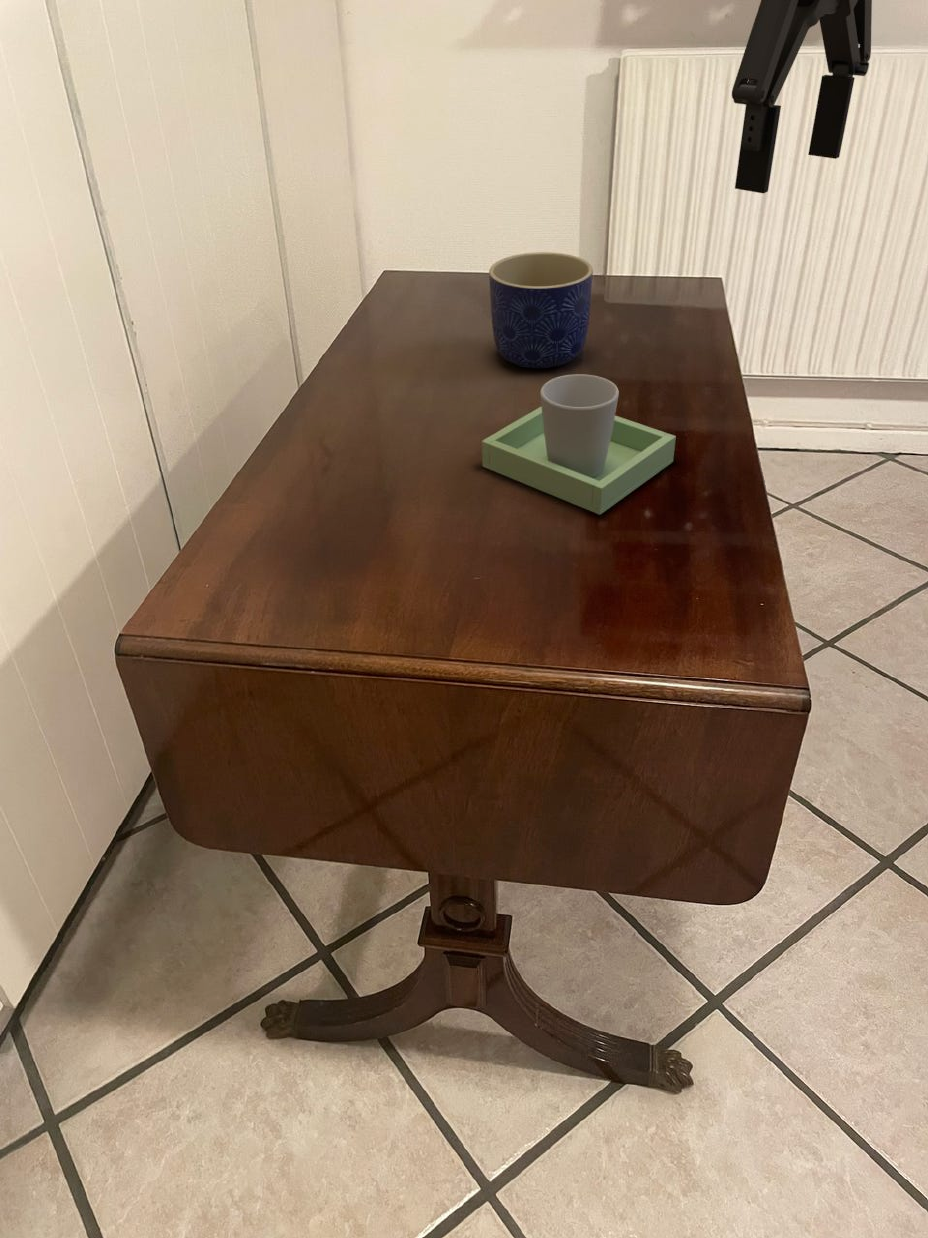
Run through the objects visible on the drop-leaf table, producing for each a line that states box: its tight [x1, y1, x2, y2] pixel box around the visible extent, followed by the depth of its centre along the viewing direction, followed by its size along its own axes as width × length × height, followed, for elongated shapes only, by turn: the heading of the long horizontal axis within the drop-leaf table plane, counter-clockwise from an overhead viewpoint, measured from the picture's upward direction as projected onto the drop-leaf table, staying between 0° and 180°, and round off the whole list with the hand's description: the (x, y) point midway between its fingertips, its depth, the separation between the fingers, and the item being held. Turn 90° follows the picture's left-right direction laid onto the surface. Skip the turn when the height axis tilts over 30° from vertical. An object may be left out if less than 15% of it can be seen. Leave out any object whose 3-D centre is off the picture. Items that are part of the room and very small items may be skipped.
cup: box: [539, 373, 620, 478], centre depth 96 cm, size 8×10×8 cm
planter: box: [488, 251, 594, 369], centre depth 117 cm, size 12×12×11 cm
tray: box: [481, 405, 677, 515], centre depth 98 cm, size 15×13×3 cm
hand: (788, 172), depth 85 cm, fingers open, 13 cm apart
